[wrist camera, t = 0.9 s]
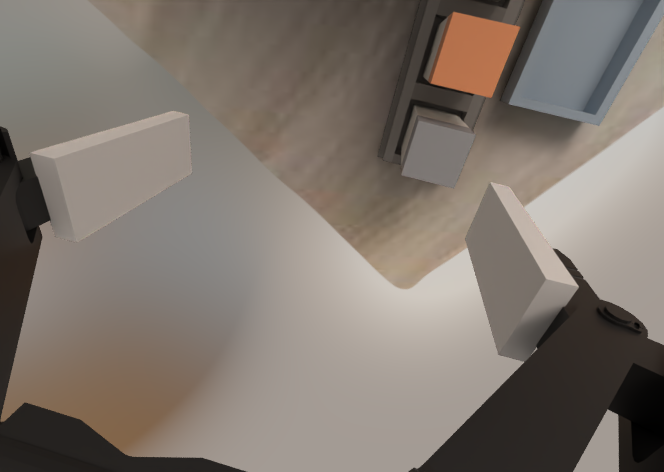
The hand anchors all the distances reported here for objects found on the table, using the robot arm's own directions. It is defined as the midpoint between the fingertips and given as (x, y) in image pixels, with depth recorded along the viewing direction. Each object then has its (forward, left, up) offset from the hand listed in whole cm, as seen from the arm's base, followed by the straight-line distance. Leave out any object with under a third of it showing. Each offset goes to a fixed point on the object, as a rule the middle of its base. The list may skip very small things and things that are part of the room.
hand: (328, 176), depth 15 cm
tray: (-10, +17, -26) cm, 33 cm away
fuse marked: (-6, +6, -25) cm, 27 cm away
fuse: (+1, +6, -25) cm, 26 cm away
